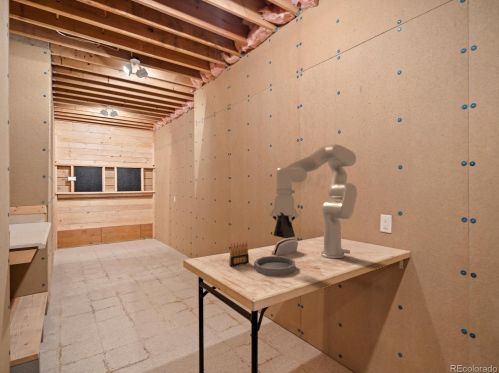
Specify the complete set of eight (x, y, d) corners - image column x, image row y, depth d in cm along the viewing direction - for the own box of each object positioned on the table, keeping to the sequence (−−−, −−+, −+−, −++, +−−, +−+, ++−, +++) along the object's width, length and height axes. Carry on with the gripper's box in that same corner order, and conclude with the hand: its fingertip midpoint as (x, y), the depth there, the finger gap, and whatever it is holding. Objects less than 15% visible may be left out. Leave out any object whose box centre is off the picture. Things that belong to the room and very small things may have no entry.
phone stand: (295, 236, 124) (294, 212, 124) (286, 238, 120) (286, 213, 120) (281, 234, 131) (281, 210, 131) (273, 235, 127) (273, 211, 127)
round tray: (296, 262, 135) (295, 257, 135) (293, 276, 115) (293, 270, 115) (258, 260, 139) (258, 255, 139) (250, 273, 120) (250, 267, 120)
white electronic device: (291, 249, 161) (294, 235, 158) (296, 253, 158) (300, 239, 155) (270, 254, 152) (274, 239, 149) (275, 258, 148) (279, 243, 145)
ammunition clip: (230, 266, 130) (230, 243, 130) (229, 265, 132) (228, 242, 131) (249, 263, 135) (248, 240, 135) (247, 262, 137) (247, 240, 137)
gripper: (301, 192, 127) (301, 228, 128) (268, 192, 131) (268, 227, 131) (301, 193, 120) (301, 231, 120) (266, 192, 123) (266, 230, 124)
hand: (284, 229), depth 126 cm, fingers closed on phone stand, 4 cm apart
